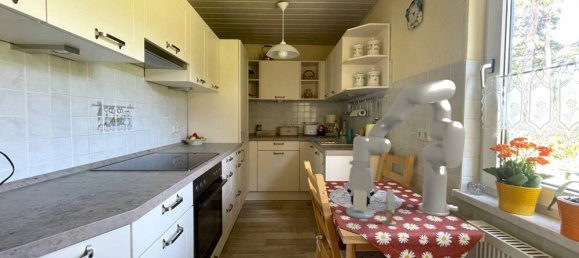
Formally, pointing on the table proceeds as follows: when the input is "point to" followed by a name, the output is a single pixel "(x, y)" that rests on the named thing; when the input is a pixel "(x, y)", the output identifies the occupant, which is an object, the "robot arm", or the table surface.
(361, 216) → the ceramic plate
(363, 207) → the cream block
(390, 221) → the clamp frame
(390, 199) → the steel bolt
